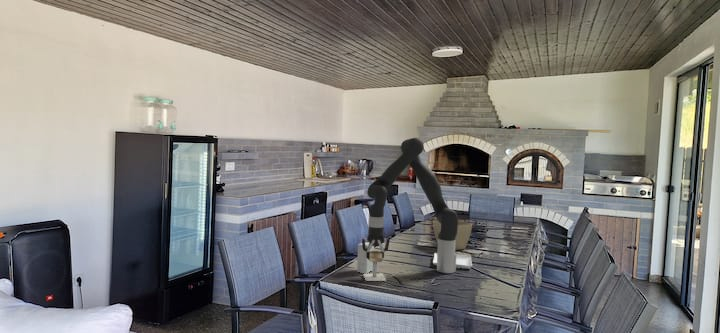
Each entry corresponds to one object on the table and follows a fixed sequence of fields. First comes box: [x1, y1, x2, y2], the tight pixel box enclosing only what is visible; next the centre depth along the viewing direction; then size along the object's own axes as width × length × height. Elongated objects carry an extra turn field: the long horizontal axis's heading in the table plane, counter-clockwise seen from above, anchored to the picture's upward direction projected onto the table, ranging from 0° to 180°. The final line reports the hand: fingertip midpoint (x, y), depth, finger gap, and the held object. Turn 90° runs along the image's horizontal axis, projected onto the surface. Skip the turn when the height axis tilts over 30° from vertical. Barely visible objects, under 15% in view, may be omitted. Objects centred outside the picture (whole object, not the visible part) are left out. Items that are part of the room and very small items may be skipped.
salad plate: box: [432, 252, 473, 270], centre depth 245 cm, size 21×21×3 cm
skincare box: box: [356, 241, 375, 274], centre depth 226 cm, size 8×6×15 cm
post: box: [362, 262, 387, 282], centre depth 215 cm, size 10×10×10 cm
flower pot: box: [432, 219, 473, 251], centre depth 284 cm, size 19×19×17 cm
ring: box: [369, 250, 383, 263], centre depth 214 cm, size 6×6×4 cm
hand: (375, 259), depth 214 cm, fingers closed on ring, 6 cm apart
